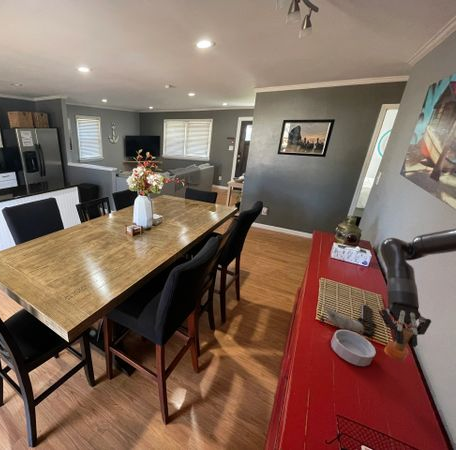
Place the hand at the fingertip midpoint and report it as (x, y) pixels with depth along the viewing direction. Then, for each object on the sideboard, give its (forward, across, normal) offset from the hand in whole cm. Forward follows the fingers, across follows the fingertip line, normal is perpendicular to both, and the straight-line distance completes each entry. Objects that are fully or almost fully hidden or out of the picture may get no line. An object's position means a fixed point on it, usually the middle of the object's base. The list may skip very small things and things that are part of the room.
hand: (406, 344), depth 78 cm
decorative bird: (-4, -6, +33) cm, 34 cm away
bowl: (+6, -6, +22) cm, 24 cm away
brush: (+3, 0, +6) cm, 7 cm away
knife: (-12, +8, +41) cm, 43 cm away
